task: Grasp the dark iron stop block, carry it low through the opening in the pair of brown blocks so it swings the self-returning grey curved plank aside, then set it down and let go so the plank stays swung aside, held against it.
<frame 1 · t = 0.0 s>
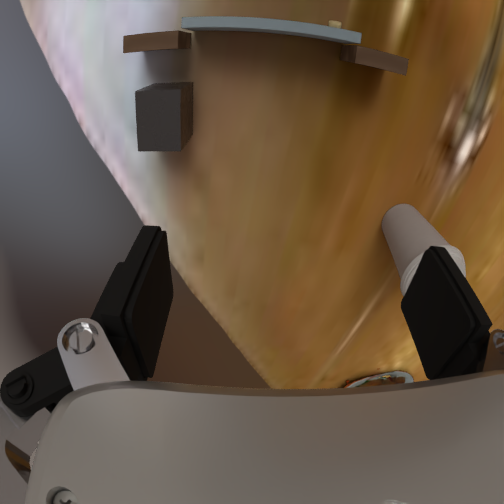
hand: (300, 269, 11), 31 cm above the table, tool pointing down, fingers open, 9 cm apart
food on plate: (370, 389, 78), on the table
pair of brown blocks: (266, 42, 31), on the table
grey curved plank: (271, 22, 27), point 3 cm above the table, hinge at 0.0°
coffee cup: (399, 221, 46), on the table
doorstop: (173, 108, 36), on the table
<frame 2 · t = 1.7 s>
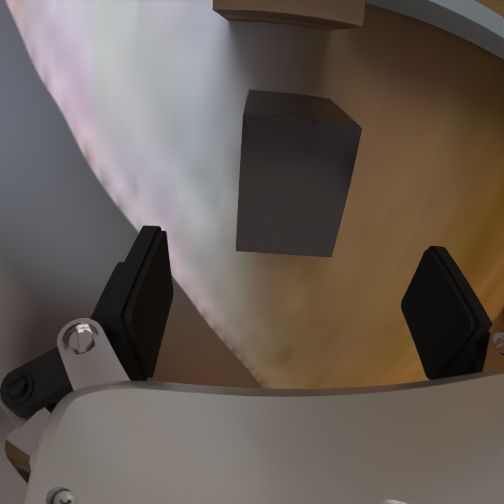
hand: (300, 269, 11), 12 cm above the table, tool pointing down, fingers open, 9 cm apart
pair of brown blocks: (456, 53, 14), on the table
grey curved plank: (493, 28, 10), point 4 cm above the table, hinge at 0.0°
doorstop: (284, 144, 20), on the table
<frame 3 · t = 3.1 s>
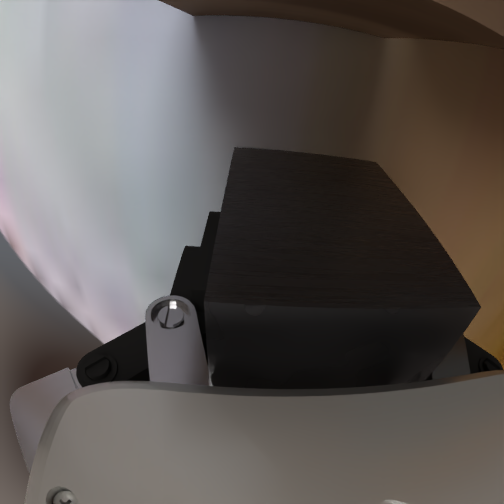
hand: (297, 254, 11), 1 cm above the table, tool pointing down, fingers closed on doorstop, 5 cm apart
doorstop: (295, 238, 12), on the table, touching gripper
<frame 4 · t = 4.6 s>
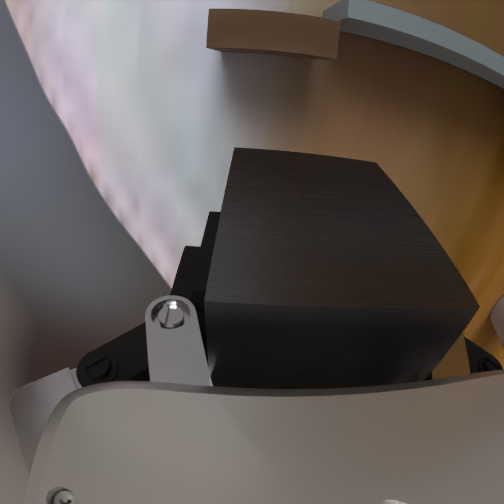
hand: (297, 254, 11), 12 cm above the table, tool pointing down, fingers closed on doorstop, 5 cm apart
pair of brown blocks: (431, 73, 17), on the table
grey curved plank: (464, 48, 13), point 4 cm above the table, hinge at 0.0°
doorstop: (294, 238, 12), point 11 cm above the table, touching gripper
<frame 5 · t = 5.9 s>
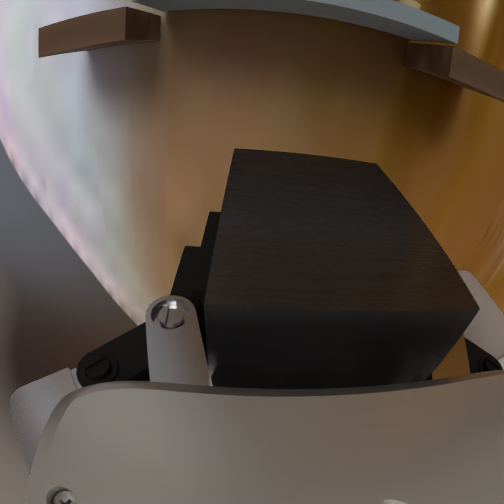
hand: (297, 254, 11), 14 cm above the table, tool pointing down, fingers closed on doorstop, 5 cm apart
pair of brown blocks: (287, 30, 18), on the table
coffee cup: (451, 289, 32), on the table
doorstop: (294, 239, 12), point 13 cm above the table, touching gripper
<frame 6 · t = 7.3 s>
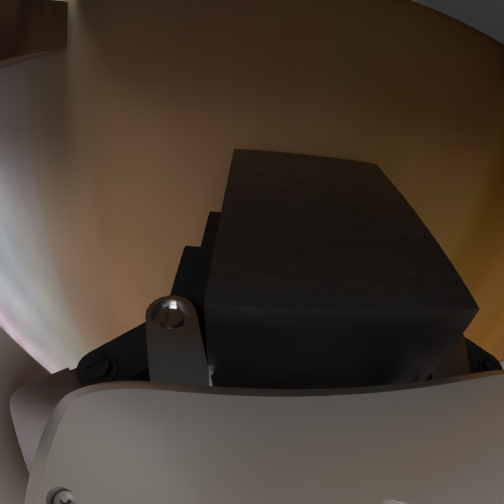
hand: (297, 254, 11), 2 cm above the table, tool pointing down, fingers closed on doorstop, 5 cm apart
pair of brown blocks: (321, 13, 8), on the table
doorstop: (294, 239, 12), point 1 cm above the table, touching gripper
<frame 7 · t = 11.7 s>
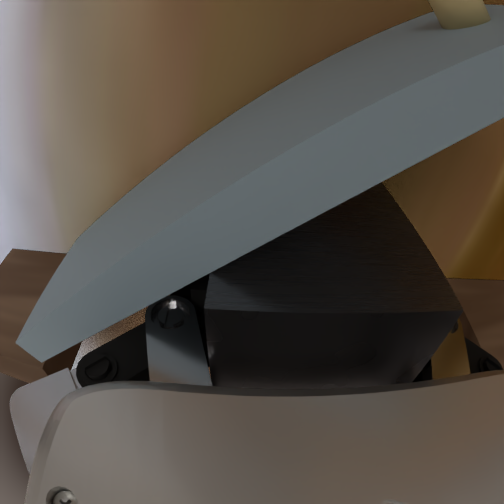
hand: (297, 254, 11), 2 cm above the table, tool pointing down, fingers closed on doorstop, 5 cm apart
pair of brown blocks: (281, 285, 15), on the table
grey curved plank: (230, 141, 7), point 4 cm above the table, hinge at 38.5°, touching gripper
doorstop: (293, 241, 13), on the table, touching gripper
when the fingers open (2 cm above the table, at t = 11.8 s): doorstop stays where it is, on the table.
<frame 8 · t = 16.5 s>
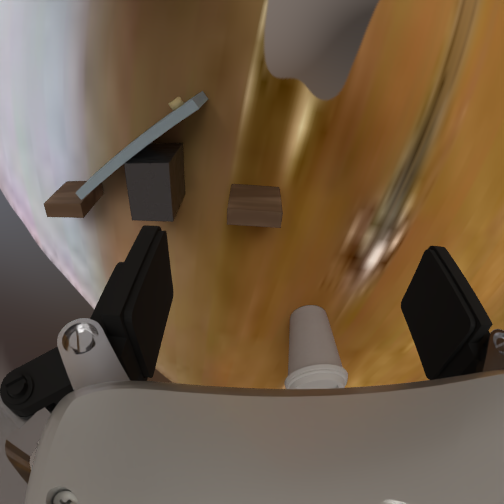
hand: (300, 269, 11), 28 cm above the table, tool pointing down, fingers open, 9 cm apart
pair of brown blocks: (163, 188, 40), on the table
grey curved plank: (134, 141, 32), point 3 cm above the table, hinge at 35.4°
coffee cup: (308, 316, 54), on the table
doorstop: (165, 168, 38), on the table
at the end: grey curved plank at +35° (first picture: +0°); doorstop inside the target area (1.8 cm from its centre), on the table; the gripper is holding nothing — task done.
